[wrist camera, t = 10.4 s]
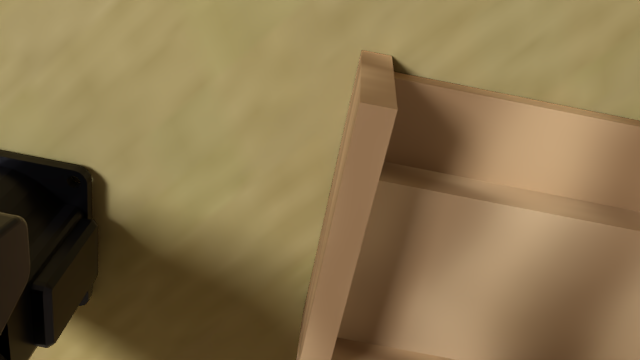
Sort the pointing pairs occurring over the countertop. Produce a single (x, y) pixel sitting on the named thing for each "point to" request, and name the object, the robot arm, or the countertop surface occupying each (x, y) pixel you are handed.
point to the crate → (475, 228)
